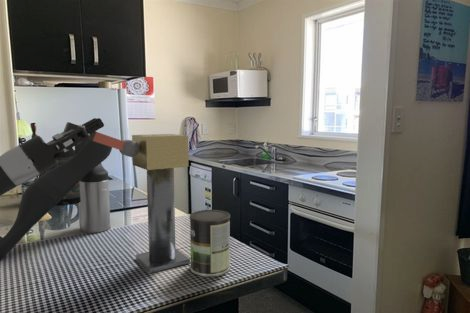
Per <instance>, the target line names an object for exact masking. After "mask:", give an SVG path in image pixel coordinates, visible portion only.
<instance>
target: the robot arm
mask: <svg viewBox="0 0 470 313" xmlns="http://www.w3.org/2000/svg"><path fill="white" fill-rule="evenodd" d="M77 125H78V126H81V127H80V128H78V129H76V130H74V129H71V130H69V131H67V132H64V131H62V132H60V133H56V134H54V135H53V136H51V140H50V141H48V142H45V140H44V139H43V137H41V136H40V135H35V136H34V137H33V136H32V137H31V138H30V139H28V140H26V141H24V142H23V143H20V144H19V145H16V146H15V147H12V148H10V149H8V150H7V151H5V152H4V153H2V154H1V155H0V197H1V196H3V195H4V194H6V193H8V192H9V191H11V190H13V189H15V188H17V187H18V186H20V185H22V184H25V183H27V182H29V181H31V180H33V179H35V178H38V179H37V180H36V181H34V180H33V182H32V183H30V185H29V186H27V188H26V189H25V190H24V192H23V193H22V197H21V199H20V203H19V207H18V212H17V215H16V218H15V221H14V223H13V224H12V226H11V227H10V229H9V230H8V231H7V233H6V234H5V235H4V236H1V235H0V262H1V261H2V260H3V259H5V257H6V256H7V255H8V254H9V253H10V252H11V251H12V250H13V248H15V246H17V244H18V243H19V242H20V241H21V240H22V239H24V237H25V236H26V235H27V233H28V232H30V230H31V229H32V228H33V227H34V226H35V225H36V224H37V223H39V222H38V221H39V220H40V219H41V218H42V217H43V216H44V215H45V214H46V213H48V214H49V212H50V211H51V210H53V208H55V206H56V205H58V204H57V203H58V202H59V201H60V200H61V199H62V198H63V197H64V196H65V195H66V194H67V193H68V192H69V191H70V190H71V189H72V188H73V187H74V186H75V185H76V184H77V183H78V182H79V181H80V198H81V202H79V203H77V204H78V207H77V208H78V220H79V221H78V223H79V225H78V226H79V231H82V232H84V233H88V234H89V233H94V234H95V233H101V232H105V231H108V230H109V229H110V228H111V208H110V184H109V183H110V182H109V172H108V170H106V169H105V167H104V166H103V164H102V163H103V162H104V161H106V159H107V158H109V156H110V154H111V153H112V150H113V147H110V146H107V145H104V144H101V143H98V142H95V141H92V140H89V139H87V138H88V137H89V135H90V134H91V133H93V132H95V131H96V132H98V130H100V129H102V128H104V126H105V123H104V122H103V120H102V119H101V118H100V117H99V118H96V117H93V118H92V119H90V120H88V121H87V122H85V123H82V124H77ZM79 132H80V133H81V135H82V137H79V136H78V135H77V133H79ZM70 133H71V134H70ZM71 148H74V150H75V156H74V157H72V158H71V159H70V160H68V161H66V162H65V163H63V164H61V165H59V166H57V167H56V165H57V164H58V161H57V159H56V158H55V154H56V153H58V152H60V151H62V152H63V153H64V152H66V151H68V150H70V149H71ZM44 172H46V173H44ZM42 173H44V174H43V175H41V174H42ZM38 176H39V177H38Z"/></svg>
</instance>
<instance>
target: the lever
mask: <svg viewBox="0 0 470 313" xmlns="http://www.w3.org/2000/svg"><path fill="white" fill-rule="evenodd" d="M78 125H79V124H76V123H72V122H69V121H68V122H67V121H66V125H65V127H64V130H63V132H67V131H69V130H71V129H74V130H76V129H78V128H80V127H81V126H82V125H81V126H78ZM70 134H71V133H70ZM77 135H78V136H79V137H82V135H81V133H80V132H79V133H77ZM87 139H89V140H92V141H95V142H98V143H101V144H104V145H107V146H110V147H112V149H113V148H114V149H116V150H119V152H120V154H121V155H123V156H124V157H125V156H126V157H130V158H133V157H134V156H136V155H137V154H138V153H139V151H140V146H139V144H138V143H137V142H135V141H132V139H124V140H121V139H119V138H115V137H113V136H110V135H107V134H104V133H102V132H98V131H95V132H93V133H91V134H90V135H89V137H88V138H87Z"/></svg>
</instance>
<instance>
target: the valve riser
mask: <svg viewBox="0 0 470 313" xmlns="http://www.w3.org/2000/svg"><path fill="white" fill-rule="evenodd" d="M131 140H132V141H135V142H137V143H138V144H139V146H140V151H139V153H138V154H137V155H136V156H134V157H132V166H135V167H138V168H140V169H143V170H146V190H147V192H146V194H147V224H148V227H147V228H148V230H147V231H148V232H147V233H148V251H147V252H142V253H136V254H135V259H136V260H137V261H138V262H139V263H140V264H141V266H142V267H143V268H144V269H145V270H146V271H147V272H148V273H149V274H154V273H156V272H161V271H165V270H170V269H174V268H178V267H181V266H185V265H188V264H191V258H189V256H187V255H186V254H184V253H183V252H182V251H180V250H179V249H177V248H176V211H175V210H176V208H175V207H176V203H175V202H176V201H175V168H176V169H177V168H185V167H186V168H188V167H190V166H189V135H188V134H178V133H177V134H176V133H161V134H160V133H159V134H158V133H157V134H154V133H153V134H131Z"/></svg>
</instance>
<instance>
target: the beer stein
mask: <svg viewBox="0 0 470 313" xmlns="http://www.w3.org/2000/svg"><path fill="white" fill-rule="evenodd" d="M74 156H75V149H74V147H72V148H71V149H70V150H68V151H66V152H64V153H63V152H62V151H60V152H58V153H56V154H55V158H56V159H57V161H58V164H57V165H56V166H55V167H57V166H59V165H61V164H63V163H65V162H66V161H68V160H70V159H71V158H72V157H74ZM46 172H47V171H46ZM46 172H44V173H46ZM44 173H42V174H40V176H41V175H43V174H44ZM79 202H81V198H80V181H79V182H78V183H77V184H76V185H75V186H74V187H73V188H72V189H71V190H70V191H69V192H68V193H67V194H66V195H65V196H64V197H63V198H62V199H61V200H60V201H59V202H58V203H57V204H56V205H74V203H75V204H78V203H79Z"/></svg>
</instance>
